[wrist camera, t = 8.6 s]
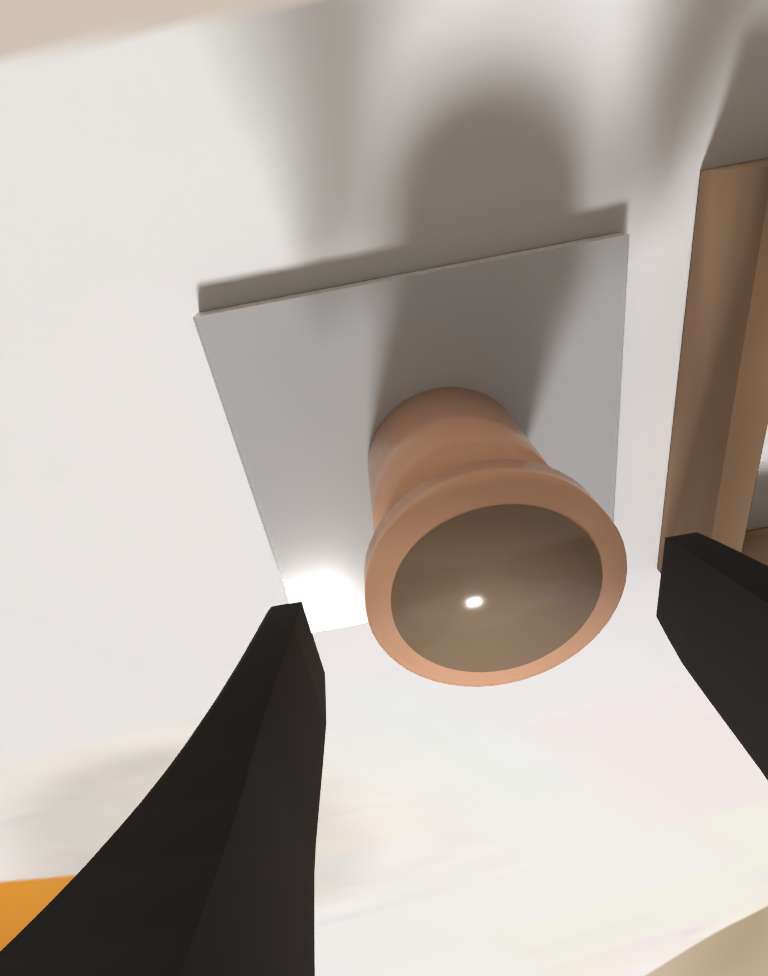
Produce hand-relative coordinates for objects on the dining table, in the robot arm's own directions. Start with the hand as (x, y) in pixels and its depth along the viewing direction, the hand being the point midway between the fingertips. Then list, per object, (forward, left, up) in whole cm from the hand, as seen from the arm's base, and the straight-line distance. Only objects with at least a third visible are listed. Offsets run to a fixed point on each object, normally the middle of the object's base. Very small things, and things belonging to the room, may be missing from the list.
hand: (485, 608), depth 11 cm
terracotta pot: (0, 0, -6) cm, 6 cm away
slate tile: (0, 0, -7) cm, 7 cm away
